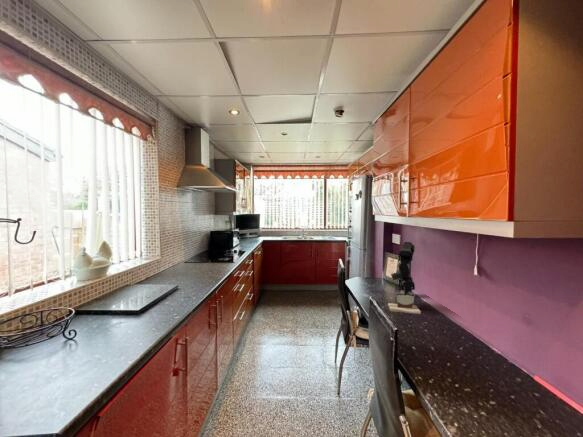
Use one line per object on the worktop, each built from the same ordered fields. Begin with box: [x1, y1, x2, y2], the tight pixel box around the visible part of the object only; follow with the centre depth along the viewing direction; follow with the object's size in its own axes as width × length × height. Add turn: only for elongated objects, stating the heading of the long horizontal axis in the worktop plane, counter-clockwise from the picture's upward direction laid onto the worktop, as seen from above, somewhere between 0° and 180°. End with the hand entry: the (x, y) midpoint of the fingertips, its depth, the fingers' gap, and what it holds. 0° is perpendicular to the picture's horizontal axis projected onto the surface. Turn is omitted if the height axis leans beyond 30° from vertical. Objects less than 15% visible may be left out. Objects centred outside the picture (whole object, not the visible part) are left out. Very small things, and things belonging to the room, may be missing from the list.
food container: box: [395, 290, 416, 309], centre depth 175 cm, size 12×6×10 cm, turn 79°
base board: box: [387, 302, 422, 315], centre depth 174 cm, size 12×18×1 cm, turn 79°
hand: (404, 292), depth 174 cm, fingers open, 9 cm apart
